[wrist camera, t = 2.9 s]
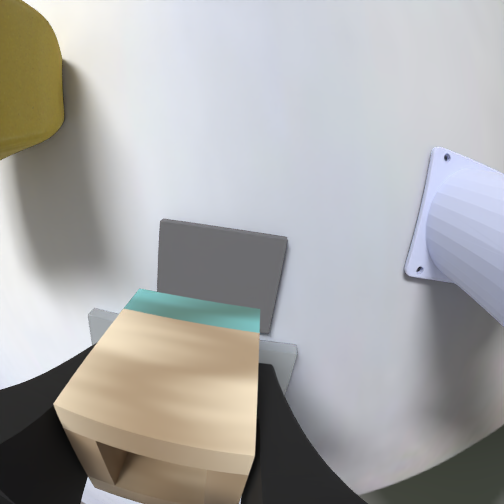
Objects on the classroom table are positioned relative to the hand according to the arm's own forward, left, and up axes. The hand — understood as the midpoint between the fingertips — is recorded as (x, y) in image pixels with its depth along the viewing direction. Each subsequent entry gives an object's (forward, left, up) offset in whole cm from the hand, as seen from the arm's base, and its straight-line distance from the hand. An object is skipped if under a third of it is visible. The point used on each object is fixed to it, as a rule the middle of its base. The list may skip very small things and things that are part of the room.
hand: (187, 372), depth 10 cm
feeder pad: (0, 0, -9) cm, 9 cm away
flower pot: (+14, -10, -9) cm, 19 cm away
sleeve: (0, 0, -2) cm, 2 cm away
